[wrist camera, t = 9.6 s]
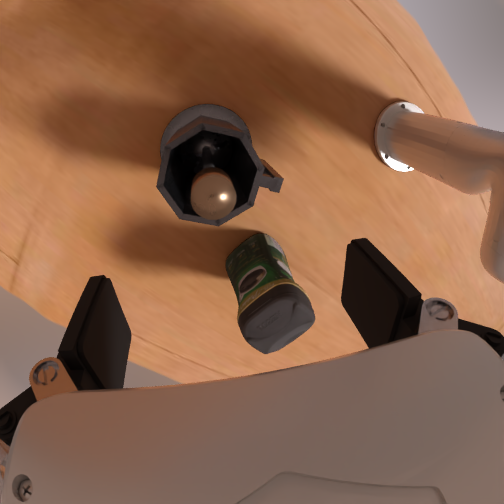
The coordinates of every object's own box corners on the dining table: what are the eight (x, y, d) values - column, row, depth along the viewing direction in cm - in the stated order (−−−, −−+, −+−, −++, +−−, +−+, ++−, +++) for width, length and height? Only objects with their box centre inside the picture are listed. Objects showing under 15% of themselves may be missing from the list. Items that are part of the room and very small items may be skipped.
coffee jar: (248, 287, 54) (270, 367, 38) (217, 261, 50) (229, 340, 34) (290, 253, 52) (329, 325, 36) (261, 223, 48) (295, 291, 32)
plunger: (237, 130, 39) (276, 161, 20) (224, 178, 42) (248, 252, 23) (187, 119, 37) (173, 138, 18) (175, 168, 40) (155, 235, 21)
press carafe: (269, 118, 40) (310, 130, 26) (245, 200, 46) (269, 253, 31) (172, 96, 36) (155, 92, 22) (153, 182, 42) (130, 229, 27)
